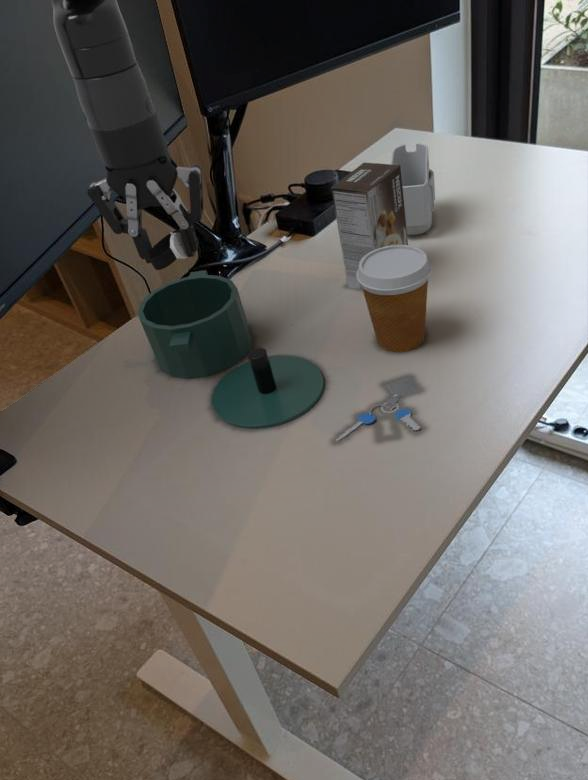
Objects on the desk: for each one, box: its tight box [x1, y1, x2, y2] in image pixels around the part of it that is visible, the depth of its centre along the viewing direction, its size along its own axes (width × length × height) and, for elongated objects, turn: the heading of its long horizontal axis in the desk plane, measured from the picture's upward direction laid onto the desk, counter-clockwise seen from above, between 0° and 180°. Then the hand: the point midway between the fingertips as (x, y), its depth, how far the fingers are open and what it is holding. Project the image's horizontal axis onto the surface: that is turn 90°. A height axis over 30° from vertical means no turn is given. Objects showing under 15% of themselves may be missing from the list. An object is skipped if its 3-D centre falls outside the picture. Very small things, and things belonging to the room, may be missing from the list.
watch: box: [148, 228, 189, 271], centre depth 86 cm, size 8×5×4 cm, turn 168°
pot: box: [136, 269, 253, 380], centre depth 95 cm, size 14×19×8 cm
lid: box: [211, 347, 325, 430], centre depth 86 cm, size 15×15×7 cm
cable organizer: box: [390, 142, 436, 236], centre depth 113 cm, size 7×12×12 cm, turn 175°
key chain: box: [335, 377, 421, 442], centre depth 82 cm, size 14×8×1 cm, turn 147°
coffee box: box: [330, 162, 409, 291], centre depth 100 cm, size 9×6×16 cm
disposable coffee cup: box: [356, 244, 432, 353], centre depth 89 cm, size 10×10×12 cm
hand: (171, 256), depth 87 cm, fingers closed on watch, 5 cm apart
